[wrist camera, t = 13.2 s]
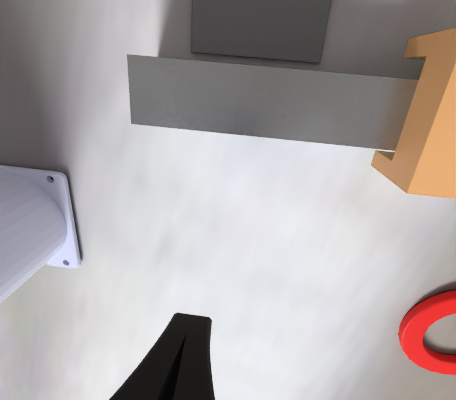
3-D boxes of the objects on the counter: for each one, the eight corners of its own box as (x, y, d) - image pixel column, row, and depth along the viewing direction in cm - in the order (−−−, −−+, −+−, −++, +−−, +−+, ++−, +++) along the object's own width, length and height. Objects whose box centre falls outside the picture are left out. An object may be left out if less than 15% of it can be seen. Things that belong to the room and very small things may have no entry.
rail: (158, 137, 18) (114, 165, 12) (156, 28, 15) (100, 3, 10) (465, 169, 17) (564, 215, 11) (515, 57, 14) (673, 46, 9)
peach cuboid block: (371, 165, 15) (406, 193, 12) (409, 38, 13) (469, 24, 9) (447, 172, 15) (507, 204, 11) (500, 45, 13) (600, 34, 9)
